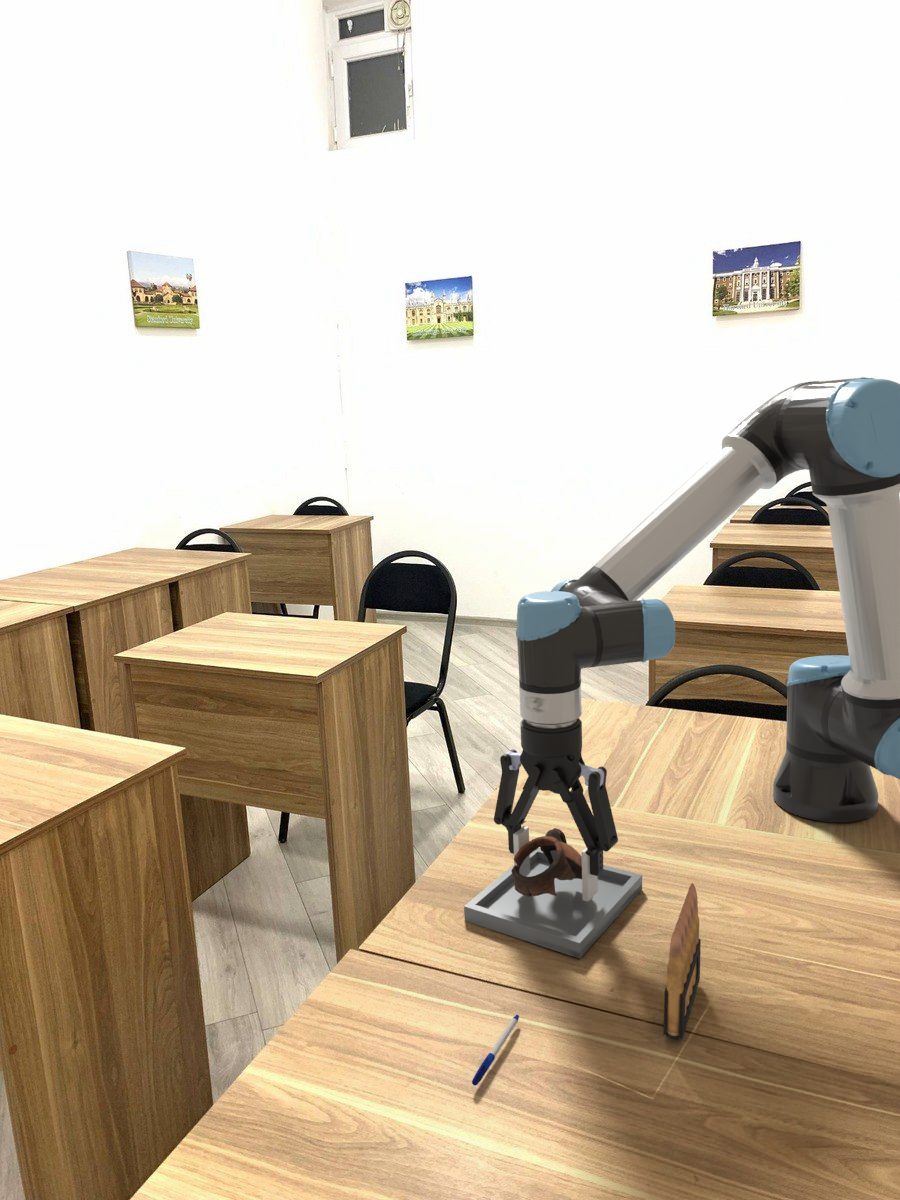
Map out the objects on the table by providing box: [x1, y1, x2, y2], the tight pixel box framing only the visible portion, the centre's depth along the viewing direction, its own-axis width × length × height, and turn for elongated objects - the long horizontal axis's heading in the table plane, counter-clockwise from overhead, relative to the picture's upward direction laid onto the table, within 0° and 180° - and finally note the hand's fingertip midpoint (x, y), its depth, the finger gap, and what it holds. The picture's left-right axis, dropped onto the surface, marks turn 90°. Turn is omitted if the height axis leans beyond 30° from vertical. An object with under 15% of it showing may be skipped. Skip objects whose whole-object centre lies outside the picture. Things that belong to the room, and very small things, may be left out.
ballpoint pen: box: [471, 1014, 520, 1086], centre depth 92 cm, size 10×1×1 cm, turn 154°
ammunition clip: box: [663, 883, 701, 1041], centre depth 96 cm, size 11×2×12 cm, turn 156°
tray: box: [463, 847, 643, 959], centre depth 118 cm, size 16×18×2 cm
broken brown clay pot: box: [512, 827, 593, 899], centre depth 118 cm, size 12×10×8 cm
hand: (555, 885), depth 118 cm, fingers closed on broken brown clay pot, 9 cm apart
